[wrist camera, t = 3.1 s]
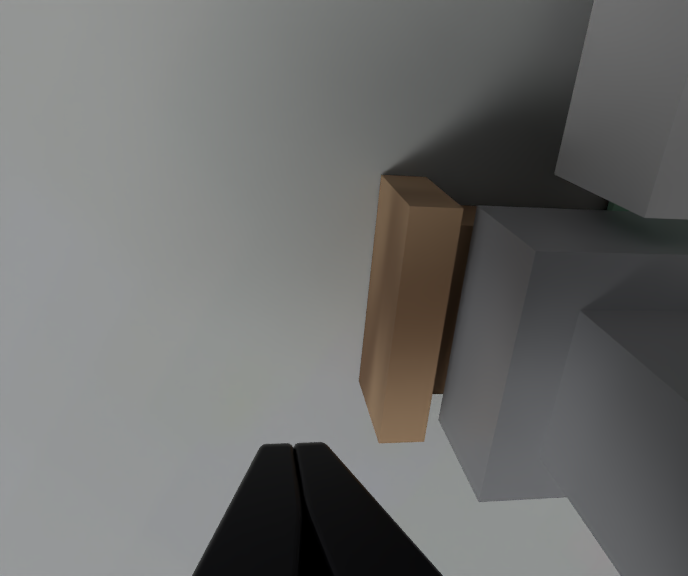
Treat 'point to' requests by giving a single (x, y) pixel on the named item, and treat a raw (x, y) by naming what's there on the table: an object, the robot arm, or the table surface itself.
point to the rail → (412, 303)
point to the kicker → (591, 309)
